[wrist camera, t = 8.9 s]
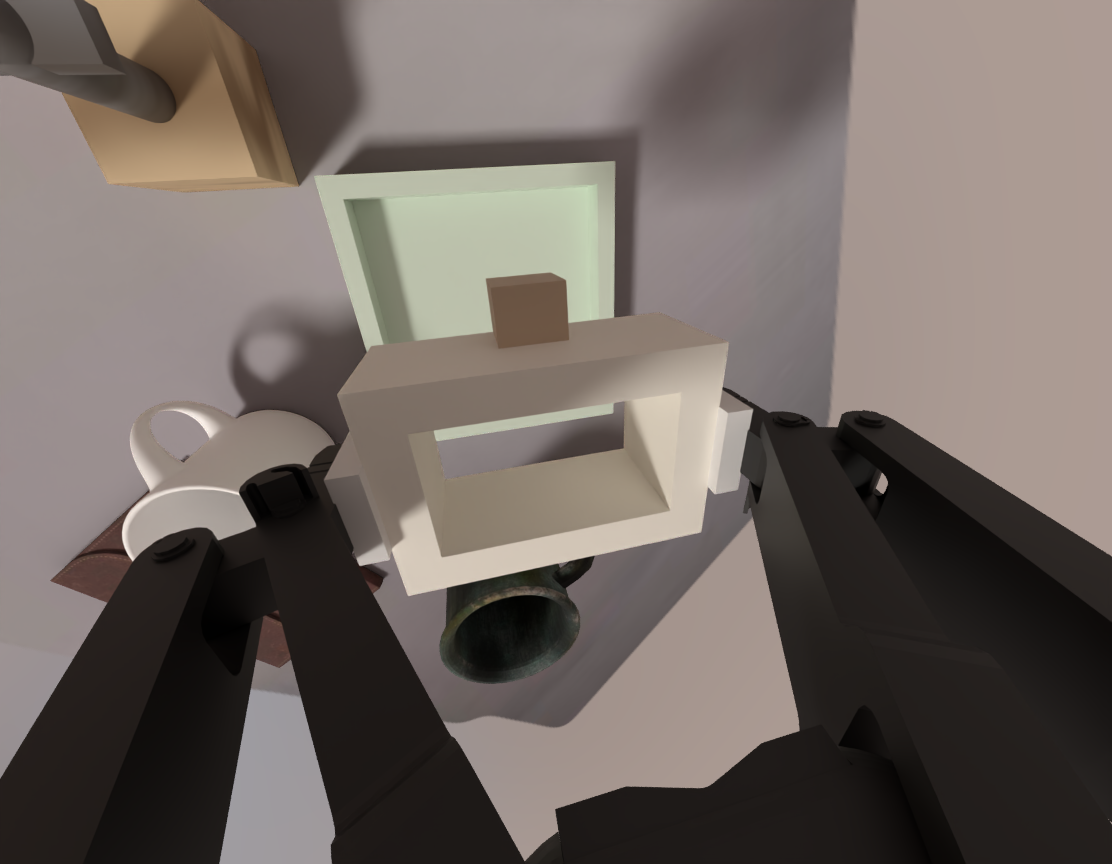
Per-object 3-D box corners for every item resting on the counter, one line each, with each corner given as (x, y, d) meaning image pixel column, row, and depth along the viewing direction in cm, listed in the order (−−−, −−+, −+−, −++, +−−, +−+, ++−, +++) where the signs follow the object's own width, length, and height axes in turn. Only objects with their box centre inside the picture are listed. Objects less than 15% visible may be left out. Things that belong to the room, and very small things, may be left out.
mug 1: (248, 348, 28) (147, 409, 19) (364, 464, 34) (331, 553, 25) (150, 408, 29) (5, 496, 19) (282, 512, 35) (219, 617, 26)
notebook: (185, 457, 31) (169, 471, 30) (384, 574, 41) (381, 589, 39) (67, 565, 33) (45, 584, 31) (284, 652, 43) (276, 670, 41)
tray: (328, 180, 25) (313, 176, 22) (600, 166, 28) (615, 161, 25) (400, 430, 34) (395, 447, 31) (602, 399, 37) (613, 413, 34)
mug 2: (419, 537, 39) (406, 650, 29) (538, 453, 38) (568, 540, 27) (488, 589, 45) (498, 700, 34) (594, 518, 43) (638, 611, 33)
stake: (121, 49, 21) (-274, -155, 9) (255, 49, 22) (42, -135, 11) (184, 192, 24) (-60, 164, 13) (298, 186, 25) (169, 156, 14)
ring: (419, 510, 15) (408, 595, 12) (355, 291, 11) (309, 319, 8) (650, 468, 17) (701, 532, 13) (662, 261, 13) (738, 275, 9)
